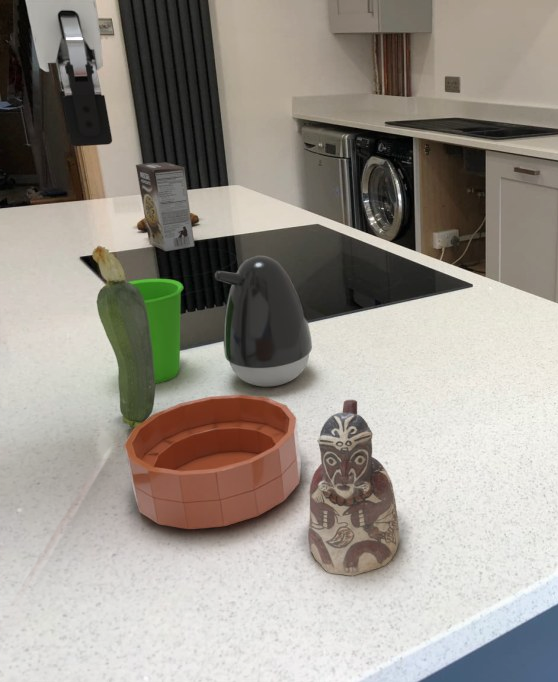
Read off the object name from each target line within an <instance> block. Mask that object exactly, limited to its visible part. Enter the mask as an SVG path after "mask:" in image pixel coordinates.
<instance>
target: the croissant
mask: <svg viewBox="0 0 558 682" xmlns="http://www.w3.org/2000/svg"><path fill="white" fill-rule="evenodd" d="M190 216H191V223H192V225H195V224H198V223H200V218H199V216H198V214H194V213H193V212H190ZM136 228H137V230H138V231H141V232H147V227H146V221H145V217H144V218H142V219H141V220H139V221H138V222H137V223H136Z"/></svg>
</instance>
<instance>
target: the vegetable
mask: <svg viewBox="0 0 558 682" xmlns="http://www.w3.org/2000/svg"><path fill="white" fill-rule="evenodd" d="M91 256H92V259H93V260H94V261H95V262H96V263H97V264H98V267H99V271H100V275H101V276H102V278H103V279H104V280H106V283H105V285H103V286H102V288H100V290H99V292H98V294H97V297H96V308H97V313H98V316H99V320H100V323H101V324H102V328H103V330H104V332H105V335H106V337H107V339H108V342H109V343H110V346H111V348H112V350H113V353H114V355H115V358H116V362H117V367H118V372H117V373H118V375H117V376H118V393H119V411H120V413H121V415H122V422H123V423H124V424H125V425H126V424H127V425H128V426H129V428H132V427H133V428H135V427H137V426H138V425H139V424H141V423H142V422H144V421H145V420H146V419H148V418H149V417H151V415H152V413H153V409H154V405H155V398H156V397H155V395H156V383H155V373H154V362H153V349H152V342H151V335H150V326H149V320H148V314H147V309H146V305H145V302H144V299H143V297H142V295H141V293H140V291H139V290H138V288H137V287H136V286H134V285H133V284H131V283H129V282H130V281H128V280H126V277H125V276H126V274H125V270H124V268H123V266H122V264H121V262H120V261H119V260H118V258H117V257H116V256H115V253H110V250H109V249H107V248H106V246H101V245H97V246H96V248H94V249H93V251H92V255H91Z"/></svg>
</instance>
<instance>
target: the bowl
mask: <svg viewBox="0 0 558 682" xmlns="http://www.w3.org/2000/svg"><path fill="white" fill-rule="evenodd" d="M297 420H298V419H297V417H296V415H294V413H293V411H292V410H291V409H290V408H289V407H288V406H287V405H285V404H283V403H281V402H278V401H276V400H273V399H271V398H269V397H263V396H255V395H246V394H230V395H215V396H214V395H213V396H207V397H203V398H197V399H194V400H190V401H185V402H182V403H178V404H176V405H173V406H170V407H168V408H166V409H164V410H163V409H162V410H161V411H158V412H156V413H154V414H151V415H150V416H149V417H148V418H147V419H146V420H145V421H144V422H142V423H141V424H139V425H138V426H137V427H133V428H132V430H131V432H130V433H129V436H128V438H127V439H126V441H125V443H124V445H123V446H124V451H125V455H126V461H127V464H128V470H129V475H130V481H131V484H132V490H133V495H134V498H135V502H136V505H137V509H138V512H139V513H140V514H142V515H143V516H145V517H146V518H148V519H149V520H151V521H153V522H154V523H156V524H157V525H161V526H166V527H171V528H178V529H184V530H198V529H209V528H221V527H227V526H230V525H234V524H237V523H240V522H243V521H247V520H250V519H253V518H256V517H259V516H261V515H263V514H264V513H266V512H267V511H270V510H271V509H272V508H273V509H274V508H275V507H276V506H278V505H280V504H281V503H283V502H284V501H286V500H287V498H288V497H289V496H290V495H291V494H292V493H293V491H294V490H295V489H296V488H297V487H298V485H299V484H300V479H301V471H302V461H301V452H300V443H299V442H300V440H299V433H298V432H299V431H298V421H297Z"/></svg>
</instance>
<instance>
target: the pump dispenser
mask: <svg viewBox="0 0 558 682" xmlns="http://www.w3.org/2000/svg"><path fill="white" fill-rule="evenodd" d="M214 278H215V280H216V281H219V282H222V283H226V284H229V285H230V288H229V292H228V296H227V300H226V305H225V311H224V318H223V319H224V320H223V353H224V358H225V359H226V360H227V361H228V362H229V365H230V368H231V369H232V371H233V372H234V374H235V375H236V376H237V377H238V378H239V379H240V380H242V381H243V382H245V383H247V384H250V385H252V386H256V387H265V388H266V387H267V388H269V387H277V386H281V385H284V384H287V383H289V382H291V381H293V380H294V379H296V378H298V376H300V375H301V374H302V372H303V371H304V370H305V368H306V367H307V364H308V362H309V358H310V353H311V352H312V349H313V340H312V334H311V330H310V324H309V321H308V317H307V314H306V311H305V308H304V305H303V302H302V300H301V297H300V295H299V292H298V290H297V288H296V286H295V284H294V283H293V280H292V279H291V277H290V276H289V273H288V272H287V271H286V269H285V268H284V267H283V266H282V264H281V263H280V262H278V261H277V260H276V259H274V258H272V257H270V256H266V255H255V256H251V257H249V258H247V259H245V260H244V261H243V262H242V263H241V264H240V265H239V267H238V269H237V271H236V272H230V271H224V270H223V271H222V270H217V271H216V272H215V273H214Z"/></svg>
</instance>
